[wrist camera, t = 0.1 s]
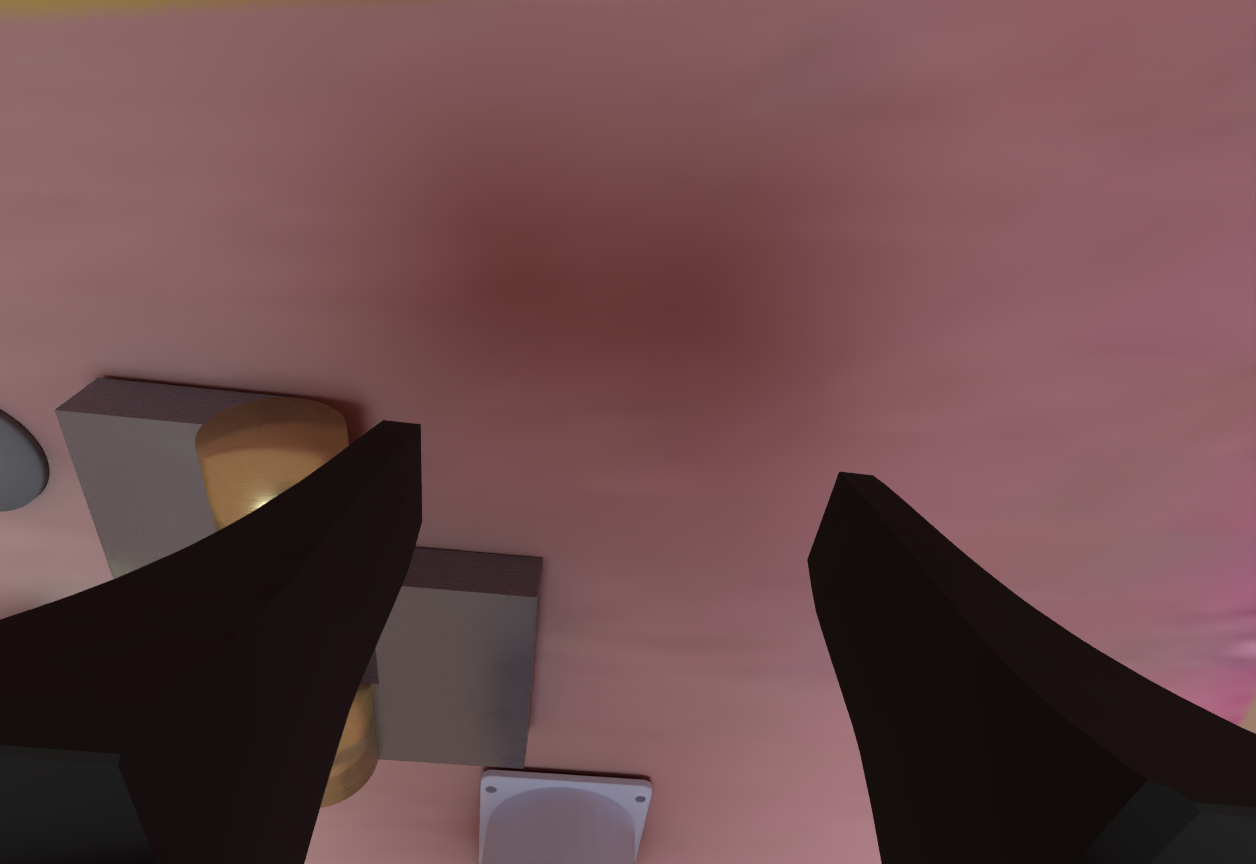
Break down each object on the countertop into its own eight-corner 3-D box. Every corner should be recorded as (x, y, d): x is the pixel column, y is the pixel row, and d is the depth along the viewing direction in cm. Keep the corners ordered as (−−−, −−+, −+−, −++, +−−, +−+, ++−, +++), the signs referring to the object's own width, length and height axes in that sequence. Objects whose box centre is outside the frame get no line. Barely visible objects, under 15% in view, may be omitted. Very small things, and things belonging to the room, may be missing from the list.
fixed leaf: (529, 726, 32) (517, 820, 28) (298, 710, 31) (256, 804, 27) (542, 558, 26) (530, 647, 23) (265, 534, 26) (207, 621, 22)
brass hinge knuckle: (382, 624, 28) (349, 712, 25) (167, 607, 27) (103, 695, 24) (364, 404, 23) (318, 478, 19) (98, 377, 22) (3, 448, 19)
